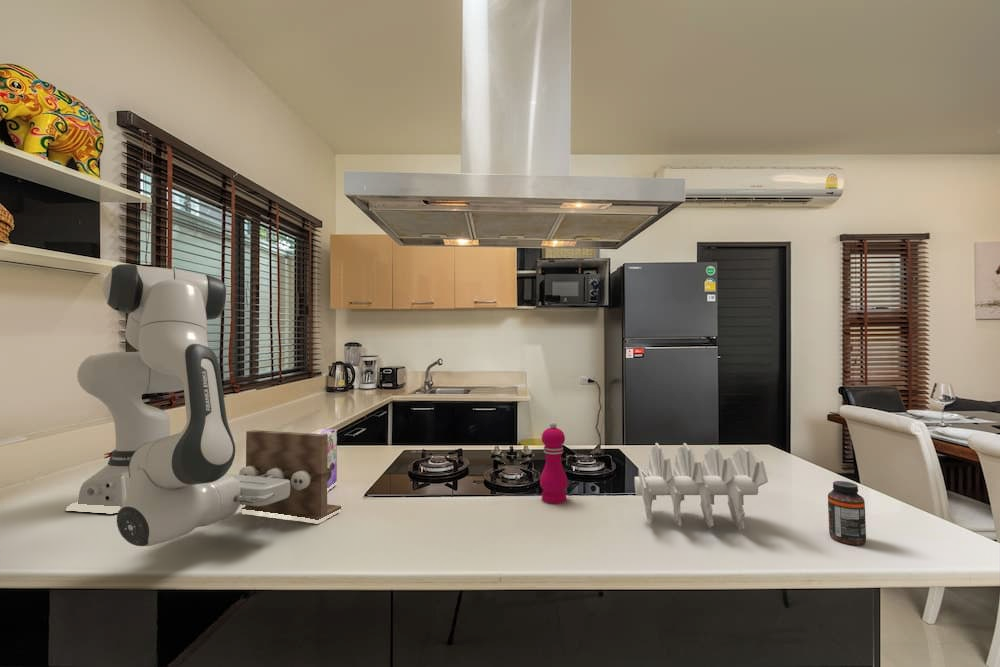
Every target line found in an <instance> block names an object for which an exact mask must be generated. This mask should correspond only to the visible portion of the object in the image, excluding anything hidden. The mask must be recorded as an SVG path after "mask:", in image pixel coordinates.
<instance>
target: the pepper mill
mask: <svg viewBox="0 0 1000 667" xmlns="http://www.w3.org/2000/svg"><path fill="white" fill-rule="evenodd" d="M565 440H566V436H565V433H564V432H563V430H561V429H560V428H558V427H557V423H556V422H555V421H551V422H550V423H549V427H548V428H546V429H545V430H543V432H542V434H541V441H542V443H543V445H544V446H543V453H544V454H545V464H544V468H543V470H542V471H541V473H540V474H541V475H540V478H539V485H540V487H541V489H542V492H541V500H542V501H543V502H544V503H548V504H562V503H565V502H566V501H567V493H566V492H565V490H566V489H567V488H568V485H569V482H568V477H567V474H566V471H565V470H564V467H563V464H562V454H563V453H564V450H563V449H564V447H563V444H564V443H565Z"/></svg>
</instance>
